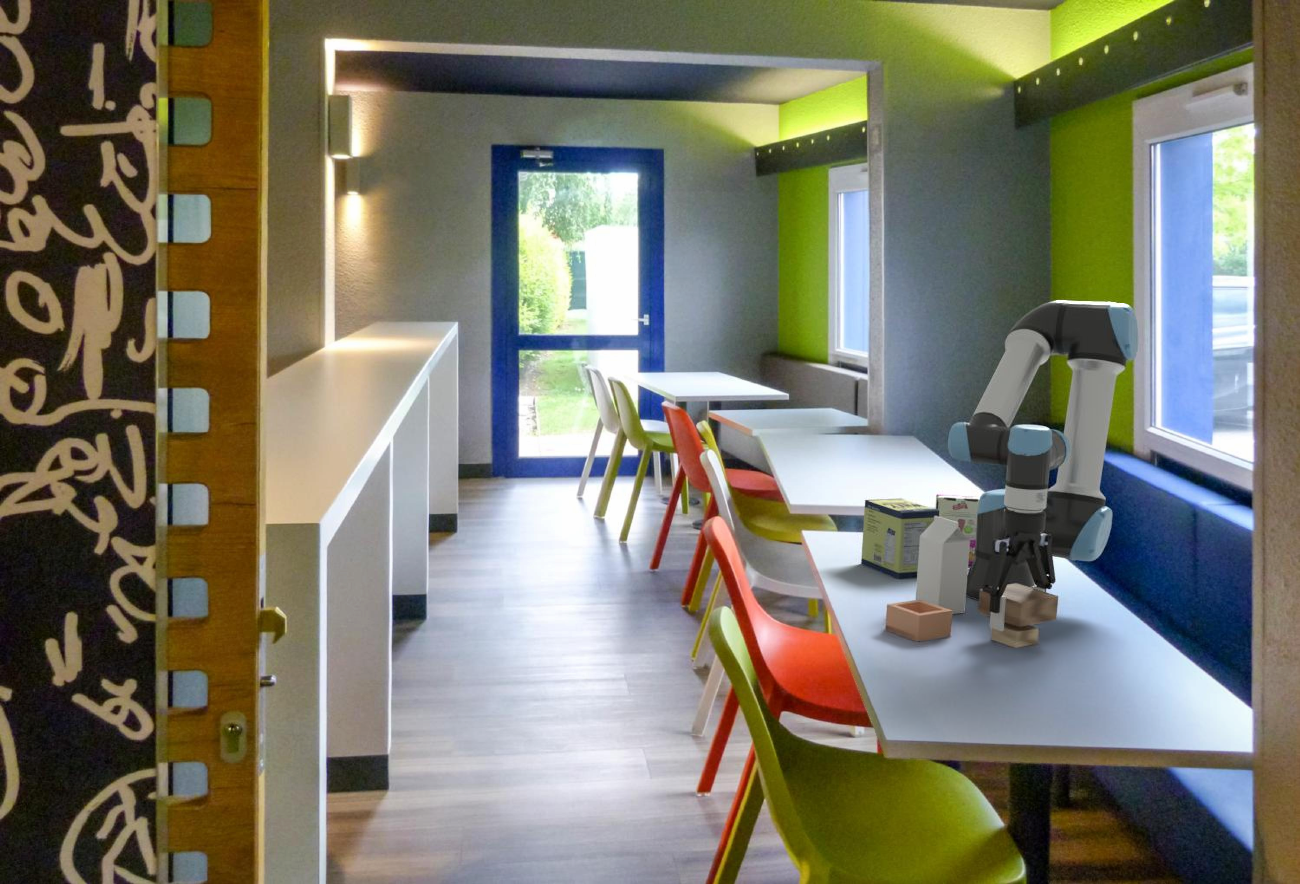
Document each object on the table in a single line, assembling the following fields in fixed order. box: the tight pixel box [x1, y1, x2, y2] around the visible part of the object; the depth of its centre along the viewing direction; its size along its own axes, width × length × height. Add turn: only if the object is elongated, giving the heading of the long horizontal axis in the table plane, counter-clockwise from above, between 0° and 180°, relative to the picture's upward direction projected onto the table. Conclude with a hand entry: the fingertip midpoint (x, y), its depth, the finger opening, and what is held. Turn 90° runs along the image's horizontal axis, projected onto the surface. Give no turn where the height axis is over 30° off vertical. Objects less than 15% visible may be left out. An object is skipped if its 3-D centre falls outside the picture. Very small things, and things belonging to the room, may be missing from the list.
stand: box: [990, 622, 1040, 649], centre depth 230 cm, size 6×6×3 cm
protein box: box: [860, 498, 939, 580], centre depth 283 cm, size 10×16×16 cm
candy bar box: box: [935, 493, 980, 568], centre depth 292 cm, size 11×5×16 cm, turn 80°
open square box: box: [884, 599, 953, 643], centre depth 233 cm, size 9×9×5 cm
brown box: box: [977, 583, 1059, 627], centre depth 230 cm, size 10×10×4 cm
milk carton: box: [915, 516, 970, 615], centre depth 249 cm, size 7×7×19 cm
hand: (1016, 624), depth 230 cm, fingers closed on brown box, 10 cm apart
